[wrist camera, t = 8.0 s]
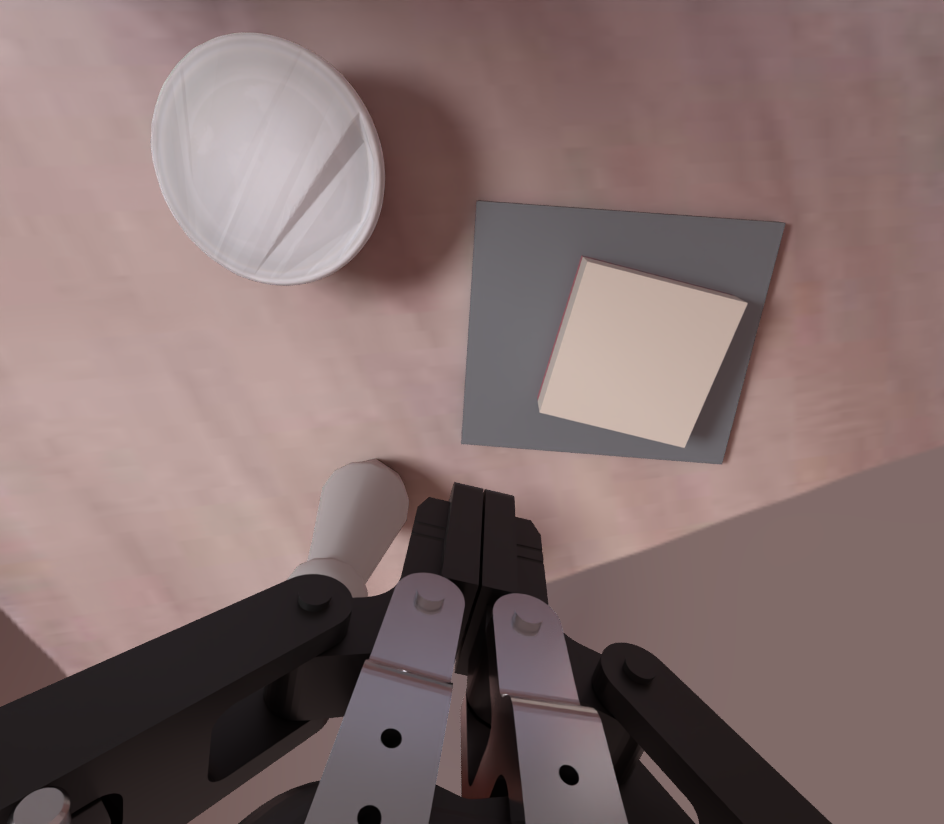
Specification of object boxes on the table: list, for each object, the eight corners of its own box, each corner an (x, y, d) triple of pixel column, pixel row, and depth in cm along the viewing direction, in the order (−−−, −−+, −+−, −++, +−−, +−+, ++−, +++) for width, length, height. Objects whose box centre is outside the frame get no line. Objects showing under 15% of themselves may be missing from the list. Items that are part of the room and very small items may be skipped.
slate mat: (477, 200, 33) (476, 201, 32) (780, 222, 32) (785, 222, 32) (461, 439, 38) (461, 443, 38) (718, 460, 38) (721, 464, 38)
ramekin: (391, 282, 35) (373, 301, 30) (206, 255, 35) (158, 269, 30) (409, 70, 30) (391, 51, 26) (197, 38, 30) (139, 13, 25)
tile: (539, 412, 34) (684, 447, 35) (587, 261, 31) (747, 303, 31) (537, 397, 36) (673, 431, 37) (581, 255, 33) (731, 294, 33)
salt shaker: (410, 447, 39) (370, 571, 27) (417, 519, 41) (382, 664, 29) (325, 448, 39) (247, 571, 27) (336, 520, 41) (268, 663, 29)
